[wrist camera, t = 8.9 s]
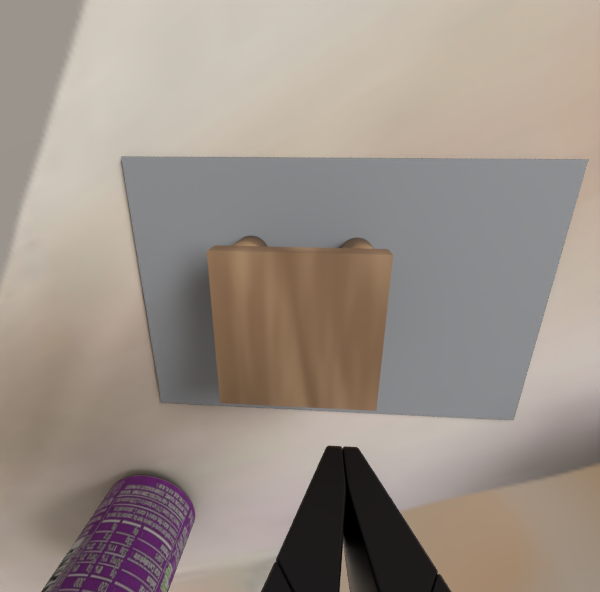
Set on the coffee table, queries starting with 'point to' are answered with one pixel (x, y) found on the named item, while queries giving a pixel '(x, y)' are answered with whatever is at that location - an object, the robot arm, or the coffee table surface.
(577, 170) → the felt mat
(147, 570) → the beverage can
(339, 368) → the stool
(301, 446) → the coffee table surface
